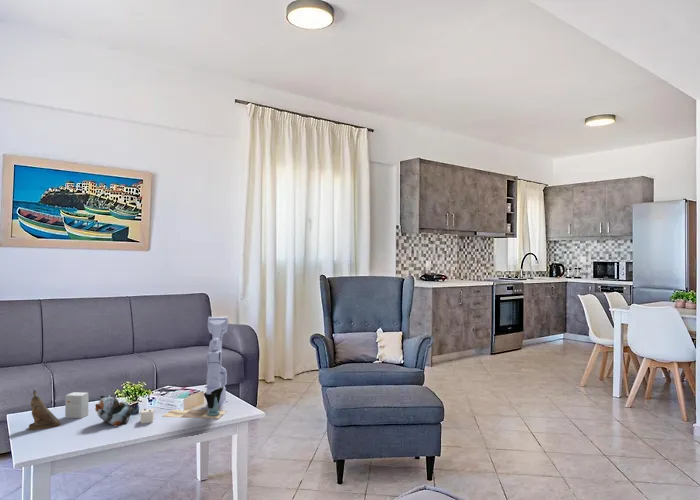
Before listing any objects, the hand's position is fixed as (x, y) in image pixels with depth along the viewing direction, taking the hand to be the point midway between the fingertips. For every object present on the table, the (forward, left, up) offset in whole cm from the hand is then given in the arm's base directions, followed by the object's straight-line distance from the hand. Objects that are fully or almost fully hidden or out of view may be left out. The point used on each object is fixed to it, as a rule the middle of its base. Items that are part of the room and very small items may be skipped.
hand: (213, 405), depth 238 cm
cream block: (+13, -26, -4) cm, 29 cm away
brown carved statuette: (+24, -67, -5) cm, 71 cm away
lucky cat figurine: (+16, -40, -5) cm, 43 cm away
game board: (0, -9, -4) cm, 10 cm away
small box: (+9, -62, -4) cm, 63 cm away
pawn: (0, 0, -4) cm, 4 cm away
